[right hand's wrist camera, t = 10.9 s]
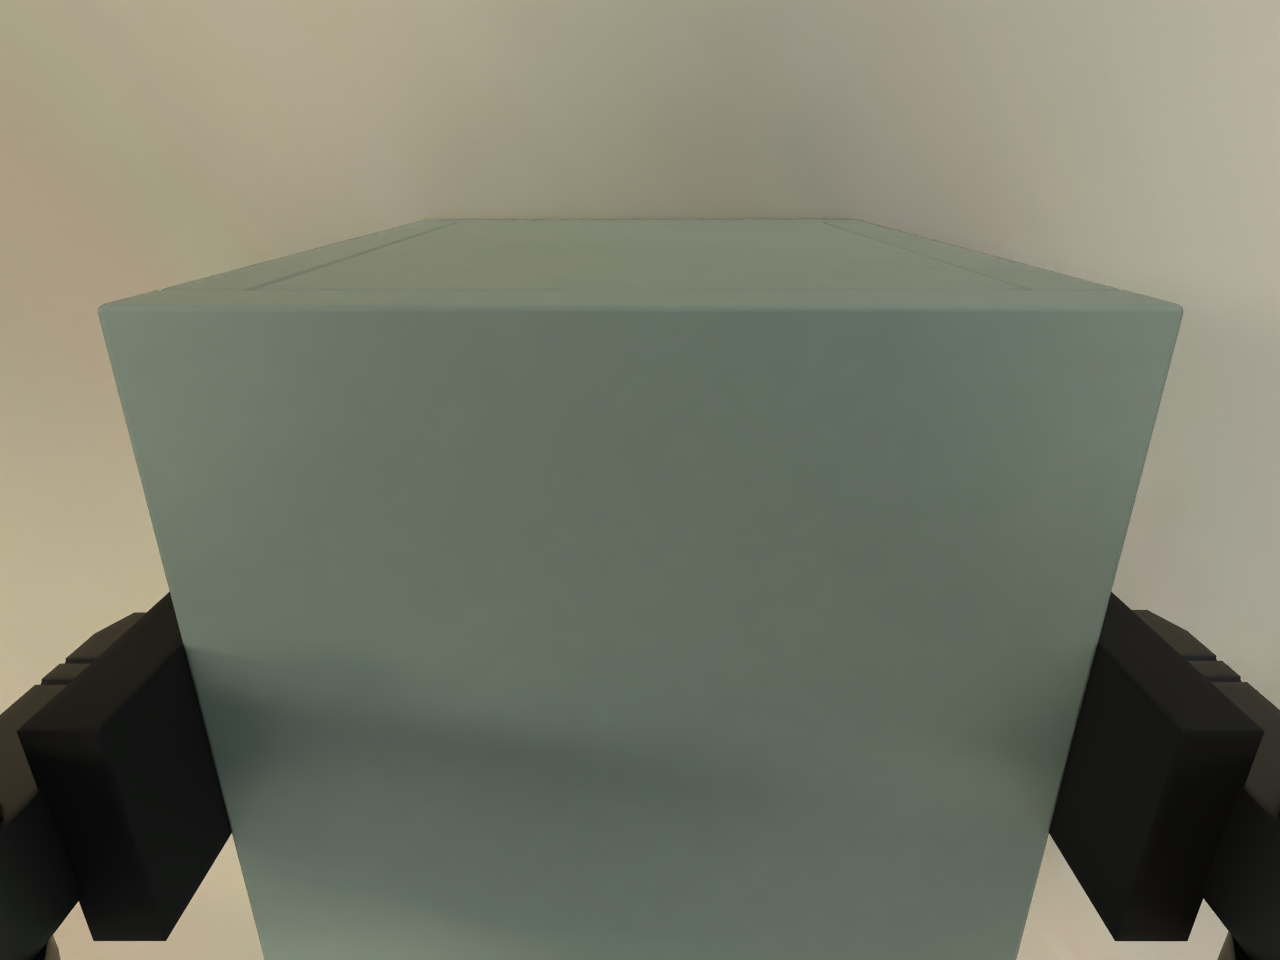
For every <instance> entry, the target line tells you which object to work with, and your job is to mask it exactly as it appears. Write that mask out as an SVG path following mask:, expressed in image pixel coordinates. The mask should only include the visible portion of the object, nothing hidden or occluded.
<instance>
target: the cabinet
mask: <svg viewBox="0 0 1280 960" xmlns="http://www.w3.org/2000/svg"><path fill="white" fill-rule="evenodd" d="M98 315H99V318H100V322H101V326H102V330H103V334H104V338H105V342H106V346H107V350H108V353H109V357H110V361H111V365H112V369H113V373H114V377H115V381H116V384H117V388H118V392H119V396H120V400H121V404H122V408H123V412H124V415H125V419H126V423H127V427H128V431H129V435H130V439H131V443H132V446H133V450H134V454H135V458H136V462H137V466H138V470H139V474H140V478H141V481H142V485H143V489H144V493H145V497H146V501H147V505H148V509H149V512H150V516H151V520H152V524H153V528H154V532H155V536H156V540H157V543H158V547H159V551H160V555H161V559H162V563H163V567H164V571H165V574H166V578H167V582H168V586H169V590H170V594H171V598H172V602H173V605H174V609H175V613H176V617H177V621H178V625H179V629H180V633H181V637H182V640H183V644H184V648H185V652H186V656H187V660H188V664H189V668H190V671H191V675H192V679H193V683H194V687H195V691H196V695H197V699H198V702H199V706H200V710H201V714H202V718H203V722H204V726H205V730H206V733H207V737H208V741H209V745H210V749H211V753H212V757H213V761H214V765H215V768H216V772H217V776H218V780H219V784H220V788H221V792H222V796H223V799H224V803H225V807H226V811H227V815H228V819H229V823H230V827H231V830H232V834H233V838H234V842H235V846H236V850H237V854H238V858H239V861H240V865H241V869H242V873H243V877H244V881H245V885H246V889H247V893H248V896H249V900H250V904H251V908H252V912H253V916H254V920H255V924H256V927H257V931H258V935H259V939H260V943H261V947H262V951H263V955H264V958H265V960H1016V958H1017V954H1018V950H1019V946H1020V942H1021V938H1022V935H1023V931H1024V927H1025V923H1026V919H1027V915H1028V911H1029V907H1030V904H1031V900H1032V896H1033V892H1034V888H1035V884H1036V880H1037V877H1038V873H1039V869H1040V865H1041V861H1042V857H1043V853H1044V849H1045V846H1046V842H1047V838H1048V834H1049V830H1050V826H1051V822H1052V818H1053V815H1054V811H1055V807H1056V803H1057V799H1058V795H1059V791H1060V787H1061V784H1062V780H1063V776H1064V772H1065V768H1066V764H1067V760H1068V757H1069V753H1070V749H1071V745H1072V741H1073V737H1074V733H1075V729H1076V726H1077V722H1078V718H1079V714H1080V710H1081V706H1082V702H1083V698H1084V695H1085V691H1086V687H1087V683H1088V679H1089V675H1090V671H1091V667H1092V664H1093V660H1094V656H1095V652H1096V648H1097V644H1098V640H1099V637H1100V633H1101V629H1102V625H1103V621H1104V617H1105V613H1106V609H1107V606H1108V602H1109V598H1110V594H1111V590H1112V586H1113V582H1114V578H1115V575H1116V571H1117V567H1118V563H1119V559H1120V555H1121V551H1122V547H1123V544H1124V540H1125V536H1126V532H1127V528H1128V524H1129V520H1130V517H1131V513H1132V509H1133V505H1134V501H1135V497H1136V493H1137V489H1138V486H1139V482H1140V478H1141V474H1142V470H1143V466H1144V462H1145V458H1146V455H1147V451H1148V447H1149V443H1150V439H1151V435H1152V431H1153V427H1154V424H1155V420H1156V416H1157V412H1158V408H1159V404H1160V400H1161V396H1162V393H1163V389H1164V385H1165V381H1166V377H1167V373H1168V369H1169V366H1170V362H1171V358H1172V354H1173V350H1174V346H1175V342H1176V338H1177V335H1178V331H1179V327H1180V323H1181V319H1182V315H1183V308H1182V307H1181V306H1180V305H1178V304H1175V303H1171V302H1167V301H1163V300H1159V299H1156V298H1152V297H1148V296H1144V295H1140V294H1137V293H1133V292H1129V291H1120V290H1118V289H1116V288H1112V287H1109V286H1105V285H1101V284H1097V283H1093V282H1090V281H1086V280H1082V279H1078V278H1074V277H1071V276H1067V275H1063V274H1059V273H1056V272H1052V271H1048V270H1044V269H1040V268H1037V267H1033V266H1029V265H1025V264H1021V263H1018V262H1014V261H1010V260H1006V259H1002V258H999V257H995V256H991V255H987V254H984V253H980V252H976V251H972V250H968V249H965V248H961V247H957V246H953V245H949V244H946V243H942V242H938V241H934V240H930V239H927V238H923V237H919V236H915V235H912V234H908V233H904V232H900V231H896V230H893V229H889V228H885V227H881V226H877V225H874V224H870V223H866V222H863V221H860V220H856V219H425V220H421V221H417V222H414V223H410V224H407V225H403V226H399V227H395V228H392V229H388V230H384V231H380V232H376V233H373V234H369V235H365V236H361V237H358V238H354V239H350V240H346V241H342V242H339V243H335V244H331V245H327V246H324V247H320V248H316V249H312V250H308V251H305V252H301V253H297V254H293V255H290V256H286V257H282V258H278V259H274V260H271V261H267V262H263V263H259V264H256V265H252V266H248V267H244V268H240V269H237V270H233V271H229V272H225V273H222V274H218V275H214V276H210V277H206V278H203V279H199V280H195V281H191V282H187V283H184V284H180V285H176V286H172V287H169V288H165V289H163V290H161V291H152V292H149V293H145V294H141V295H137V296H133V297H130V298H126V299H122V300H118V301H114V302H111V303H107V304H104V305H102V306H100V307H99V308H98Z"/></svg>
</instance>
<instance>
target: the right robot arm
mask: <svg viewBox="0 0 1280 960" xmlns="http://www.w3.org/2000/svg"><path fill="white" fill-rule="evenodd" d="M231 833H232V830H231V827H230V823H229V819H228V815H227V811H226V807H225V803H224V799H223V796H222V792H221V788H220V784H219V780H218V776H217V772H216V768H215V765H214V761H213V757H212V753H211V749H210V745H209V741H208V737H207V733H206V730H205V726H204V722H203V718H202V714H201V710H200V706H199V702H198V699H197V695H196V691H195V687H194V683H193V679H192V675H191V671H190V668H189V664H188V660H187V656H186V652H185V648H184V644H183V640H182V637H181V633H180V629H179V625H178V621H177V617H176V613H175V609H174V605H173V602H172V598H171V594H170V592H169V593H168V594H167V595H166V596H164V597H163V598H162V599H161V600H160V601H159V602H158V603H157V604H156V605H155V606H153V607H152V608H151V609H150V610H149V611H148V612H147V613H133V614H131V615H129V616H127V617H125V618H123V619H121V620H120V621H118V622H116V623H114V624H112V625H110V626H108V627H106V628H105V629H103V630H101V631H99V632H97V633H95V634H94V635H93V636H91V637H90V638H89V639H88V640H87V641H86V642H84V643H83V644H82V645H81V646H80V647H79V648H77V649H76V650H75V651H74V652H73V653H72V654H71V655H69V656H68V657H67V658H66V662H65V664H59V665H58V666H57V667H55V668H54V669H53V670H52V671H51V672H50V673H48V674H47V675H46V676H45V677H44V678H43V679H42V682H41V685H35V686H33V687H32V688H31V689H30V690H29V691H28V692H26V693H25V694H24V695H23V696H22V697H21V698H19V699H18V700H17V701H16V702H15V703H14V704H12V705H11V706H10V707H9V708H8V709H7V710H5V711H4V712H3V713H2V714H1V715H0V960H60V955H59V950H58V947H57V944H56V942H55V939H54V937H53V934H54V932H55V931H56V930H57V928H58V927H59V926H60V925H61V923H62V922H63V921H64V919H65V918H66V917H67V915H68V914H69V913H70V911H71V910H72V909H73V907H74V906H75V905H76V904H77V902H78V901H79V902H80V905H81V908H82V911H83V913H84V916H85V919H86V921H87V924H88V927H89V930H90V932H91V935H92V938H93V940H94V941H166V940H167V938H168V936H169V935H170V933H171V931H172V930H173V928H174V927H175V925H176V923H177V922H178V920H179V918H180V917H181V915H182V913H183V912H184V910H185V909H186V907H187V905H188V904H189V902H190V900H191V899H192V897H193V895H194V894H195V892H196V891H197V889H198V887H199V886H200V884H201V882H202V881H203V879H204V877H205V876H206V874H207V872H208V871H209V869H210V868H211V866H212V864H213V863H214V861H215V859H216V858H217V856H218V854H219V853H220V851H221V850H222V848H223V846H224V845H225V843H226V841H227V840H228V838H229V836H230V835H231ZM1049 833H1050V835H1051V837H1052V838H1053V840H1054V842H1055V843H1056V845H1057V847H1058V848H1059V850H1060V851H1061V853H1062V855H1063V856H1064V858H1065V860H1066V861H1067V863H1068V865H1069V866H1070V868H1071V870H1072V871H1073V873H1074V874H1075V876H1076V878H1077V879H1078V881H1079V883H1080V884H1081V886H1082V888H1083V889H1084V891H1085V892H1086V894H1087V896H1088V897H1089V899H1090V901H1091V902H1092V904H1093V906H1094V907H1095V909H1096V910H1097V912H1098V914H1099V915H1100V917H1101V919H1102V920H1103V922H1104V924H1105V925H1106V927H1107V928H1108V930H1109V932H1110V933H1111V935H1112V937H1113V938H1114V940H1115V941H1188V938H1189V935H1190V933H1191V930H1192V927H1193V924H1194V922H1195V919H1196V916H1197V914H1198V911H1199V908H1200V905H1201V903H1202V900H1203V898H1204V899H1205V901H1206V902H1207V903H1208V905H1209V906H1210V907H1211V908H1212V910H1213V911H1214V912H1215V914H1216V915H1217V916H1218V918H1219V919H1220V920H1221V922H1222V923H1223V924H1224V925H1225V927H1226V928H1227V929H1228V931H1229V932H1228V934H1227V937H1226V939H1225V942H1224V944H1223V947H1222V949H1221V952H1220V955H1219V957H1218V960H1280V710H1279V709H1278V708H1277V707H1275V706H1274V705H1273V704H1272V703H1271V702H1270V701H1268V700H1267V699H1266V698H1265V697H1264V696H1263V695H1261V694H1260V693H1259V692H1258V691H1257V690H1256V689H1254V688H1253V687H1252V686H1251V685H1250V684H1249V683H1247V682H1241V679H1240V676H1239V675H1238V674H1237V673H1236V672H1234V671H1233V670H1232V669H1231V668H1230V667H1229V666H1227V665H1226V664H1225V663H1224V662H1223V661H1217V659H1216V655H1215V654H1213V653H1212V652H1211V651H1210V650H1209V649H1208V648H1206V647H1205V646H1204V645H1203V644H1202V643H1201V642H1199V641H1198V640H1197V639H1196V638H1195V637H1194V636H1192V635H1191V634H1190V633H1189V632H1188V631H1186V630H1184V629H1182V628H1180V627H1178V626H1177V625H1175V624H1173V623H1171V622H1169V621H1167V620H1165V619H1163V618H1161V617H1159V616H1158V615H1156V614H1154V613H1152V612H1150V611H1148V610H1131V609H1130V608H1129V607H1127V606H1126V605H1125V604H1124V603H1123V602H1122V601H1121V600H1120V599H1119V598H1118V597H1116V596H1115V595H1114V594H1113V593H1112V592H1111V594H1110V598H1109V602H1108V606H1107V609H1106V613H1105V617H1104V621H1103V625H1102V629H1101V633H1100V637H1099V640H1098V644H1097V648H1096V652H1095V656H1094V660H1093V664H1092V667H1091V671H1090V675H1089V679H1088V683H1087V687H1086V691H1085V695H1084V698H1083V702H1082V706H1081V710H1080V714H1079V718H1078V722H1077V726H1076V729H1075V733H1074V737H1073V741H1072V745H1071V749H1070V753H1069V757H1068V760H1067V764H1066V768H1065V772H1064V776H1063V780H1062V784H1061V787H1060V791H1059V795H1058V799H1057V803H1056V807H1055V811H1054V815H1053V818H1052V822H1051V826H1050V830H1049Z"/></svg>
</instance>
